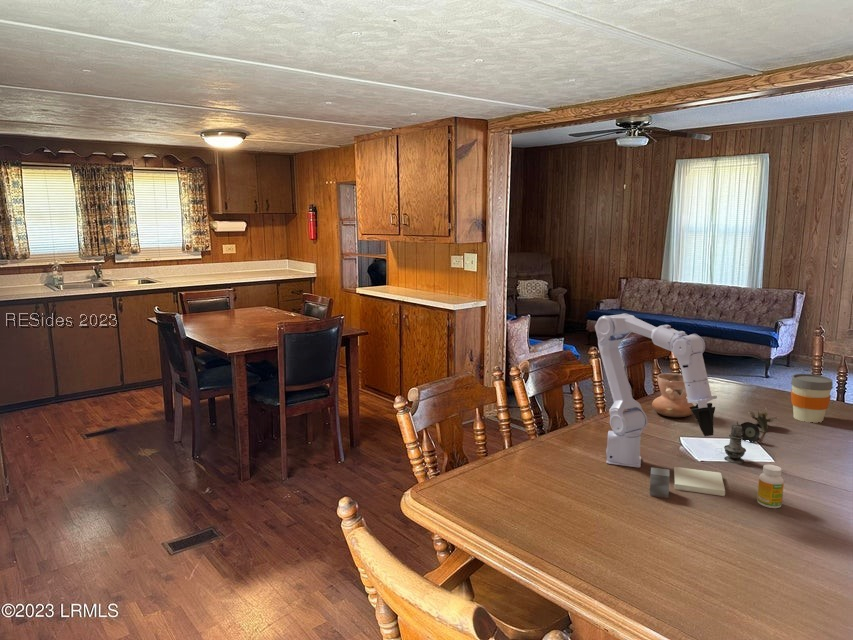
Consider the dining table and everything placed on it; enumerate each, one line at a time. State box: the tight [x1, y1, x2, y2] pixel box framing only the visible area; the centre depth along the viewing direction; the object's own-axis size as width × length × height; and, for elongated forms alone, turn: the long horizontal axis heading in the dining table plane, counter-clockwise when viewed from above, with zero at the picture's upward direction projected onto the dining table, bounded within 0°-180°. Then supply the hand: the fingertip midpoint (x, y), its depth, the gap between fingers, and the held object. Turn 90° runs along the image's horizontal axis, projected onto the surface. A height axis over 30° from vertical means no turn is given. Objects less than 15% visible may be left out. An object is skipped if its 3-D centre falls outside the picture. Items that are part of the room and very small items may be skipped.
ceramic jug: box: [651, 372, 695, 418], centre depth 220 cm, size 18×14×14 cm
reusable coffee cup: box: [790, 373, 834, 424], centre depth 214 cm, size 13×13×15 cm
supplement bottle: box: [756, 464, 785, 509], centre depth 151 cm, size 5×5×10 cm
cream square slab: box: [673, 466, 726, 497], centre depth 164 cm, size 12×12×2 cm
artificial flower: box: [740, 406, 779, 443], centre depth 201 cm, size 9×22×10 cm, turn 132°
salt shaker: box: [723, 421, 747, 464], centre depth 178 cm, size 6×6×12 cm
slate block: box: [649, 467, 670, 499], centre depth 157 cm, size 4×4×6 cm
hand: (707, 433), depth 154 cm, fingers open, 7 cm apart
